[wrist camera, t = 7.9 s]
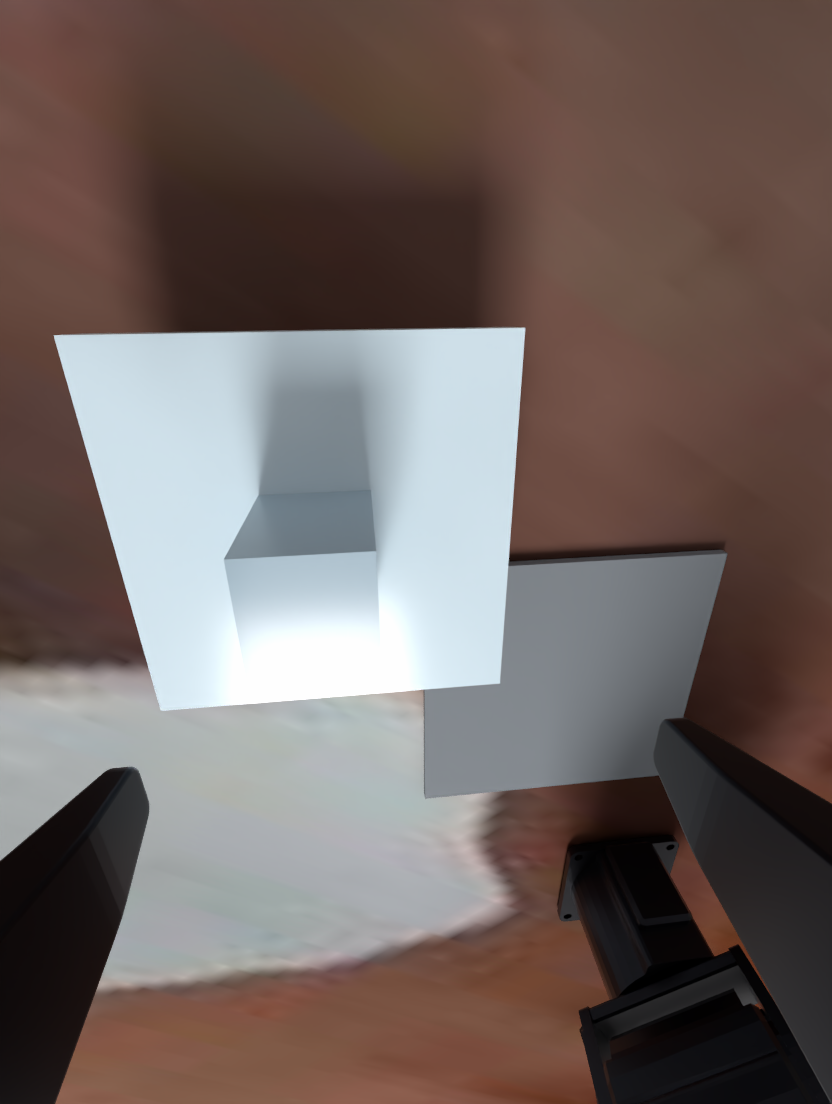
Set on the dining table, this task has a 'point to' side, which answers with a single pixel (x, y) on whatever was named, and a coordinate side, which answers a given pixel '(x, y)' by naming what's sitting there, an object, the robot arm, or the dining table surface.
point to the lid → (306, 504)
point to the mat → (576, 674)
